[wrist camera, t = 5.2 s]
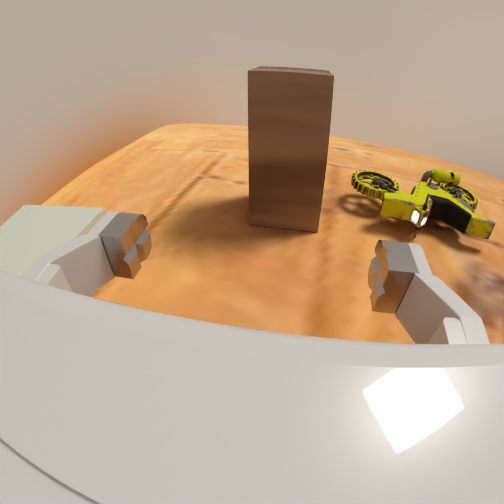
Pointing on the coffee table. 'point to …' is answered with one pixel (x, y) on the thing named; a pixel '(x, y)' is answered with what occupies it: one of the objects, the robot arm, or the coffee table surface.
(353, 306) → the coffee table surface
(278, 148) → the pillar
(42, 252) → the slab
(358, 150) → the coffee table surface
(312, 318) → the coffee table surface
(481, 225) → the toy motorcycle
